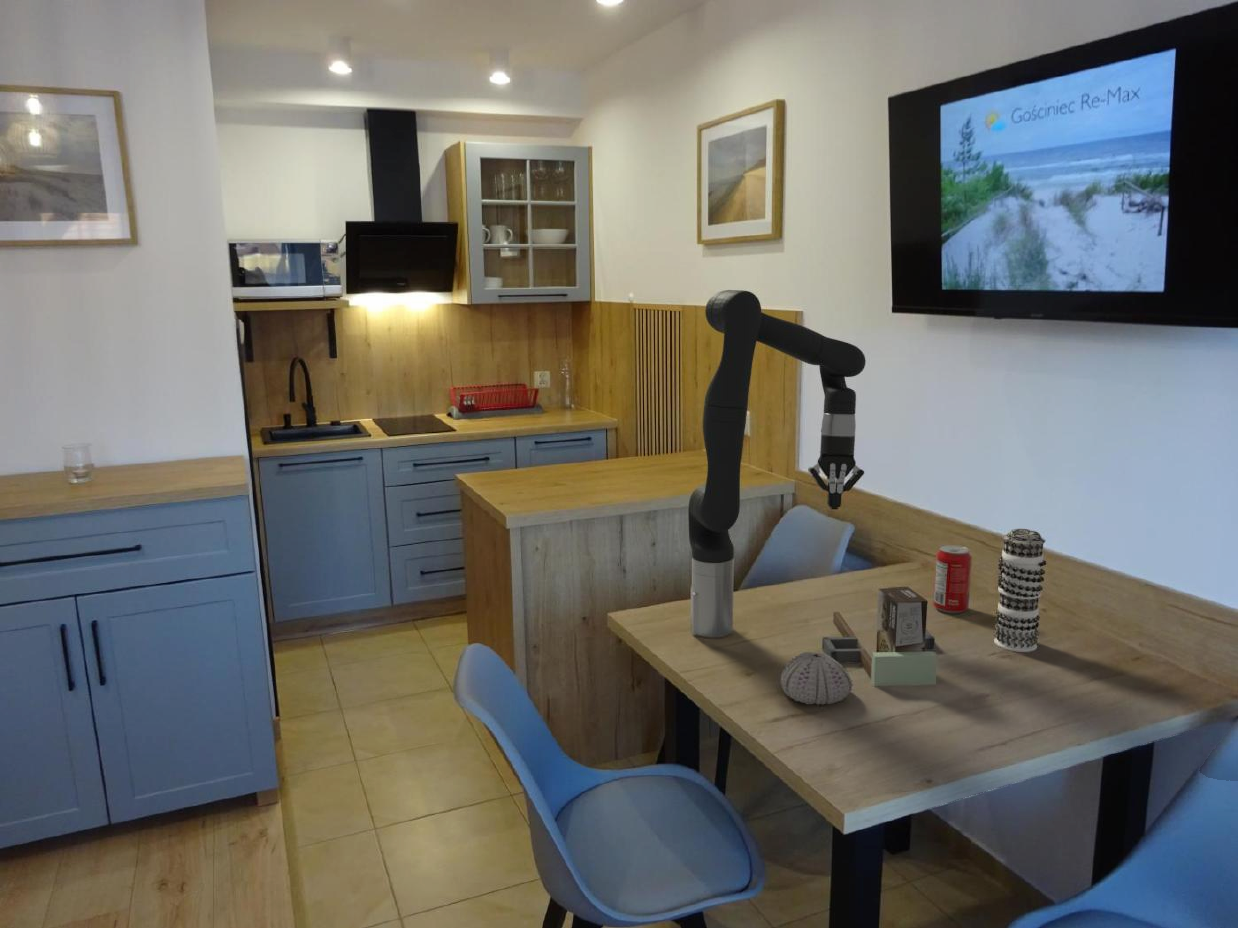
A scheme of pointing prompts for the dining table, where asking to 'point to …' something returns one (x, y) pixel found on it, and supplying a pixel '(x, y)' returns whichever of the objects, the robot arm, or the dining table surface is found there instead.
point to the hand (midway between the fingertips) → (833, 508)
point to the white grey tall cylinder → (1019, 590)
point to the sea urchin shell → (815, 679)
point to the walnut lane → (847, 632)
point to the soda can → (952, 579)
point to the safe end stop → (903, 668)
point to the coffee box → (901, 620)
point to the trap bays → (854, 647)
